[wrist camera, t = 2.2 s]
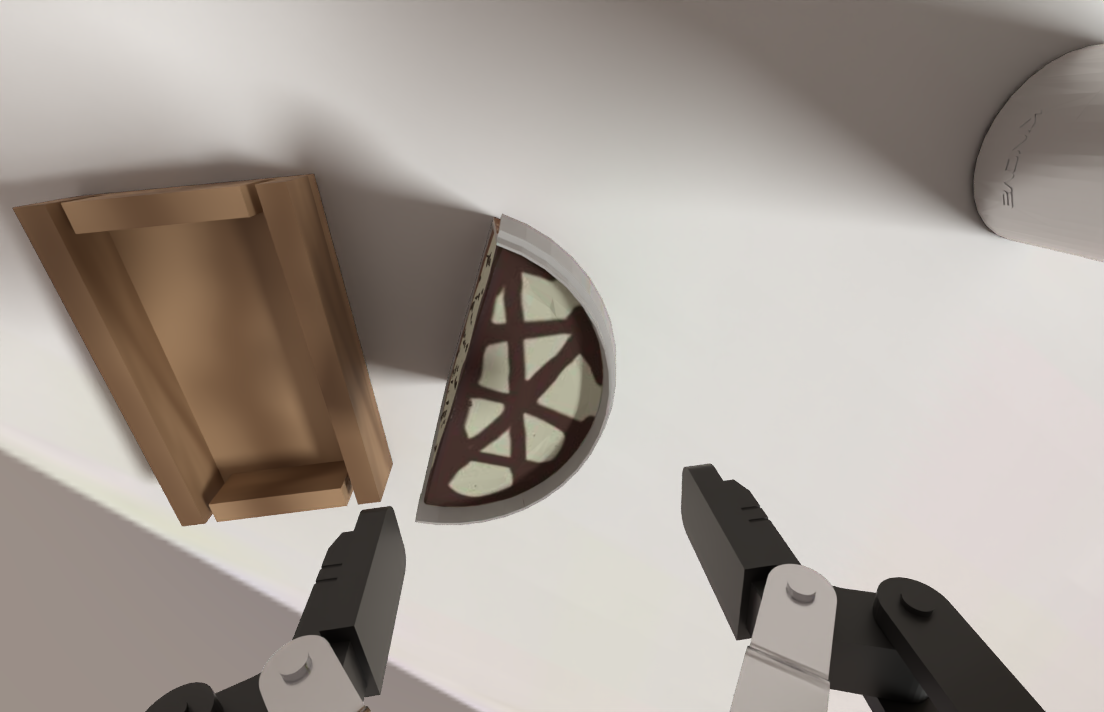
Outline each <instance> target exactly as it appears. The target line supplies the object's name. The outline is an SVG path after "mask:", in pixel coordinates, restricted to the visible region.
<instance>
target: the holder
mask: <svg viewBox="0 0 1104 712" xmlns="http://www.w3.org/2000/svg"><path fill="white" fill-rule="evenodd" d="M13 210H14V212H15V214H16V215H17V217H18V219H19V221H20V223H21V225H22V227H23V229H24V230H25V232H26V234H27V236H28V238H29V240H30V242H31V244H32V245H33V247H34V249H35V251H36V253H37V255H38V257H39V259H40V260H41V262H42V264H43V266H44V268H45V270H46V272H47V274H48V275H49V277H50V279H51V281H52V283H53V285H54V287H55V289H56V290H57V292H58V294H59V296H60V298H61V300H62V302H63V304H64V305H65V307H66V309H67V311H68V313H69V315H70V317H71V319H72V321H73V322H74V324H75V326H76V328H77V330H78V332H79V334H80V336H81V337H82V339H83V341H84V343H85V345H86V347H87V349H88V351H89V352H90V354H91V356H92V358H93V360H94V362H95V364H96V366H97V367H98V369H99V371H100V373H101V375H102V377H103V379H104V381H105V382H106V384H107V386H108V388H109V390H110V392H111V394H112V396H113V397H114V399H115V401H116V403H117V405H118V407H119V409H120V411H121V412H122V414H123V416H124V418H125V420H126V422H127V424H128V426H129V427H130V429H131V431H132V433H133V435H134V437H135V439H136V441H137V442H138V444H139V446H140V448H141V450H142V452H143V454H144V456H145V457H146V459H147V461H148V463H149V465H150V467H151V469H152V471H153V473H154V474H155V476H156V478H157V480H158V482H159V484H160V486H161V488H162V489H163V491H164V493H165V495H166V497H167V499H168V501H169V503H170V504H171V506H172V508H173V510H174V512H175V514H176V516H177V518H178V519H179V521H180V523H181V525H182V526H189V525H197V524H205V523H206V522H207V521H208V519H209V518H210V517H211V515H212V514H213V515H214V517H215V519H216V521H217V522H221V521H229V520H237V519H245V518H253V517H261V516H269V515H277V514H285V513H293V512H301V511H309V510H317V509H325V508H333V507H341V506H347V504H348V502H349V499H350V497H351V494H352V492H353V490H354V493H355V496H356V499H357V503H358V504H365V503H373V502H381V499H382V496H383V493H384V490H385V486H386V483H387V480H388V477H389V474H390V471H391V468H392V465H393V463H392V459H391V455H390V452H389V448H388V444H387V441H386V437H385V433H384V429H383V426H382V422H381V418H380V415H379V411H378V407H377V404H376V400H375V396H374V393H373V389H372V385H371V382H370V378H369V374H368V371H367V367H366V363H365V360H364V356H363V352H362V349H361V345H360V341H359V338H358V334H357V330H356V326H355V323H354V319H353V315H352V312H351V308H350V304H349V301H348V297H347V293H346V290H345V286H344V282H343V279H342V275H341V271H340V268H339V264H338V260H337V257H336V253H335V249H334V246H333V242H332V238H331V235H330V231H329V227H328V223H327V220H326V216H325V212H324V209H323V205H322V201H321V198H320V194H319V190H318V187H317V183H316V179H315V176H314V174H308V175H297V176H287V177H276V178H265V179H255V180H244V181H233V182H223V183H212V184H202V185H191V186H180V187H170V188H159V189H149V190H138V191H127V192H117V193H106V194H96V195H85V196H76V197H70V198H64V199H59V200H53V201H47V202H42V203H36V204H30V205H24V206H19V207H13Z"/></svg>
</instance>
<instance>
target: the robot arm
mask: <svg viewBox="0 0 1104 712" xmlns="http://www.w3.org/2000/svg"><path fill="white" fill-rule="evenodd" d="M973 180H974V199H975V203H976V206H977V210H978V213H979V215H980V216H981V218H982V220H983V221H984V223H985V224H986V226H987V227H989V228H990V229H991V230H992V231H993V232H995V233H996V234H997V235H999V236H1002V237H1004V238H1006V239H1009V240H1012V241H1016V242H1021V243H1025V244H1029V245H1034V246H1038V247H1042V248H1046V249H1051V250H1055V251H1059V252H1064V253H1068V254H1072V255H1077V256H1081V257H1084V258H1088V259H1092V260H1096V261H1101V262H1104V44H1099V45H1092V46H1088V47H1084V48H1081V49H1078V50H1075V51H1072V52H1069V53H1067V54H1065V55H1063V56H1061V57H1060V58H1058V59H1056V60H1054V61H1052V62H1050V63H1048V64H1047V65H1046V66H1045V67H1043V68H1042V69H1041V70H1039V71H1038V72H1037V73H1035V74H1034V75H1033V76H1031V77H1030V78H1029V79H1028V80H1027V81H1026V82H1025V83H1024V84H1023V85H1022V86H1021V87H1020V88H1019V89H1018V90H1017V91H1016V92H1015V93H1014V94H1013V95H1012V96H1011V97H1010V99H1009V100H1008V101H1007V103H1006V104H1005V105H1004V107H1003V108H1002V109H1001V111H1000V112H999V113H998V115H997V116H996V118H995V120H994V121H993V123H992V125H991V127H990V129H989V131H988V133H987V134H986V136H985V138H984V141H983V144H982V147H981V149H980V152H979V155H978V158H977V162H976V168H975V173H974V179H973ZM681 514H682V520H683V525H684V528H685V531H686V533H687V536H688V538H689V540H690V542H691V544H692V546H693V548H694V550H695V553H696V555H697V557H698V559H699V561H700V563H701V565H702V568H703V570H704V572H705V574H706V576H707V578H708V580H709V583H710V585H711V587H712V589H713V591H714V593H715V595H716V597H717V600H718V602H719V604H720V606H721V608H722V610H723V612H724V615H725V617H726V619H727V621H728V623H729V625H730V627H731V629H732V632H733V634H734V636H735V638H736V640H742V639H749V638H752V639H751V643H750V646H748V647H747V649H746V652H745V656H744V660H743V663H742V667H741V671H740V675H739V678H738V682H737V686H736V690H735V693H734V697H733V701H732V705H731V709H730V712H827V710H828V701H829V691H830V689H833V690H839V691H844V692H850V693H855V694H861V695H863V696H864V698H865V700H866V702H867V703H868V705H869V707H870V708H871V710H872V712H1045V711H1044V710H1043V708H1042V707H1041V706H1040V705H1039V704H1038V703H1037V702H1036V700H1035V699H1034V698H1033V697H1032V696H1031V695H1030V694H1029V692H1028V691H1027V690H1026V689H1025V688H1024V687H1023V686H1022V684H1021V683H1020V682H1019V681H1018V680H1017V679H1016V678H1015V676H1014V675H1013V674H1012V673H1011V672H1010V671H1009V670H1008V668H1007V667H1006V666H1005V665H1004V664H1003V663H1002V662H1001V661H1000V659H999V658H998V657H997V656H996V655H995V654H994V653H993V651H992V650H991V649H990V648H989V647H988V646H987V645H986V643H985V642H984V641H983V640H982V639H981V638H980V637H979V635H978V634H977V633H976V632H975V631H974V630H973V629H972V627H971V626H970V625H969V624H968V623H967V622H966V621H965V619H964V618H963V617H962V616H961V615H960V614H959V613H958V611H957V610H956V609H955V608H954V607H953V606H952V605H951V603H950V602H949V601H948V600H947V599H946V598H945V597H944V596H943V595H941V594H940V593H939V592H937V591H936V590H934V589H933V588H931V587H929V586H928V585H926V584H923V583H921V582H919V581H916V580H912V579H908V578H901V577H896V578H889V579H886V580H884V581H883V582H881V584H880V585H879V586H878V589H877V593H873V592H865V591H858V590H850V589H844V588H839V587H835V586H832V585H831V584H830V582H829V581H828V580H827V579H826V578H825V577H823V576H822V575H821V574H819V573H818V572H816V571H814V570H813V569H811V568H808V567H805V566H802V565H801V564H800V563H799V561H798V560H797V558H796V557H795V555H794V554H793V553H792V551H791V550H790V548H789V547H788V545H787V544H786V542H785V541H784V540H783V538H782V537H781V535H780V534H779V532H778V531H777V530H776V528H775V527H774V525H773V524H772V522H771V521H770V520H768V517H767V515H766V514H765V512H764V511H763V509H762V508H760V505H759V504H758V502H757V501H756V499H755V498H754V497H753V495H752V494H751V492H750V491H749V490H748V489H746V488H745V487H743V486H742V485H741V484H739V483H738V482H736V481H735V480H727V481H723V480H722V478H721V477H720V475H719V474H718V472H717V470H716V469H715V467H714V466H713V465H712V464H704V465H696V466H689V467H684V468H683V473H682V500H681ZM405 568H406V555H405V548H404V544H403V541H402V537H401V534H400V530H399V527H398V523H397V520H396V516H395V513H394V510H393V508H392V507H391V506H388V507H380V508H373V509H365V510H362V511H361V512H360V515H359V517H358V520H357V523H356V526H355V529H354V531H350V532H343V533H342V534H341V535H340V536H339V537H338V538H337V539H336V541H335V542H334V543H333V544H332V545H331V546H330V547H329V549H328V551H327V553H326V556H325V559H324V561H323V564H322V569H321V570H320V571H319V574H318V576H317V579H316V584H314V586H313V589H312V591H311V594H310V597H309V599H308V602H307V604H306V607H305V609H304V612H303V614H302V617H301V619H300V622H299V624H298V627H297V630H296V632H295V635H294V637H293V639H292V641H290V642H288V643H287V644H285V645H284V646H282V647H281V648H280V649H278V651H276V652H275V653H274V654H273V655H272V656H271V658H270V659H269V660H268V661H267V663H266V664H265V666H264V668H263V670H262V672H261V673H259V674H258V675H256V676H254V677H252V678H250V679H247V680H245V681H243V682H240V683H238V684H236V685H234V686H231V687H229V688H227V689H225V690H222V691H220V692H218V693H214V692H213V690H212V689H211V687H210V686H208V685H207V684H205V683H198V682H195V683H189V684H186V685H183V686H180V687H178V688H176V689H174V690H172V691H170V692H169V693H167V694H165V695H164V696H162V697H161V698H160V699H158V700H157V701H156V702H155V703H154V704H153V705H151V706H150V707H149V708H148V710H147V711H146V712H371V710H370V709H369V708H368V707H367V706H366V707H365V705H364V704H363V701H364V697H369V696H375V695H380V693H381V688H382V684H383V679H384V674H385V669H386V664H387V659H388V654H389V649H390V644H391V639H392V634H393V629H394V624H395V619H396V614H397V609H398V605H399V600H400V595H401V590H402V585H403V580H404V575H405Z"/></svg>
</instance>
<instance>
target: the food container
mask: <svg viewBox="0 0 1104 712" xmlns="http://www.w3.org/2000/svg"><path fill="white" fill-rule="evenodd" d="M615 387H616V345H615V340H614V335H613V330H612V324H611V321H610V318H609V315H608V313H607V310H606V307H605V305H604V302H603V300H602V298H601V296H600V294H599V293H598V291H597V289H596V288H595V286H594V284H593V283H592V281H591V279H590V277H589V276H588V275H587V274H586V273H585V272H584V270H583V269H582V268H581V267H580V266H579V264H578V263H577V262H576V261H575V260H574V258H573V257H572V256H570V255H569V254H568V253H567V252H566V251H565V250H563V249H562V248H561V247H560V246H559V245H558V244H556V243H555V242H554V241H553V240H552V239H550V238H549V237H547V236H545V235H544V234H542V233H541V232H539V231H537V230H536V229H534V228H532V227H531V226H529V225H527V224H525V223H523V222H521V221H518V220H516V219H513V218H511V217H509V216H506V215H504V214H502V216H501V219H498V218H496V217H493V221H492V224H491V228H490V231H489V235H488V238H487V242H486V245H485V249H484V252H483V256H482V259H481V263H480V266H479V270H478V273H477V277H476V280H475V284H474V287H473V291H472V294H471V298H470V301H469V305H468V308H467V312H466V315H465V319H464V322H463V326H462V329H461V333H460V336H459V340H458V343H457V347H456V350H455V354H454V358H453V361H452V365H451V368H450V372H449V375H448V379H447V383H446V387H445V392H444V396H443V400H442V405H441V409H440V414H439V418H438V422H437V427H436V431H435V436H434V440H433V445H432V449H431V453H430V458H429V462H428V467H427V471H426V475H425V480H424V484H423V489H422V493H421V495H420V499H419V504H418V509H417V514H416V520H415V522H418V523H426V524H434V525H464V524H472V523H481V522H486V521H490V520H494V519H499V518H503V517H506V516H509V515H511V514H514V513H517V512H519V511H522V510H525V509H527V508H529V507H530V506H532V505H534V504H536V503H538V502H540V501H542V500H544V499H545V498H547V497H548V496H550V495H551V494H552V493H554V492H555V491H556V490H558V489H559V488H561V487H562V486H563V485H564V484H565V483H566V482H567V481H568V480H569V479H570V478H571V477H573V476H574V475H575V474H576V473H577V472H578V471H579V469H580V468H581V467H582V465H583V464H584V463H585V461H586V460H587V459H588V458H589V456H590V455H591V453H592V451H593V450H594V448H595V446H596V444H597V442H598V440H599V438H600V437H601V434H602V432H603V431H604V429H605V426H606V423H607V420H608V418H609V415H610V412H611V409H612V405H613V399H614V393H615Z"/></svg>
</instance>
